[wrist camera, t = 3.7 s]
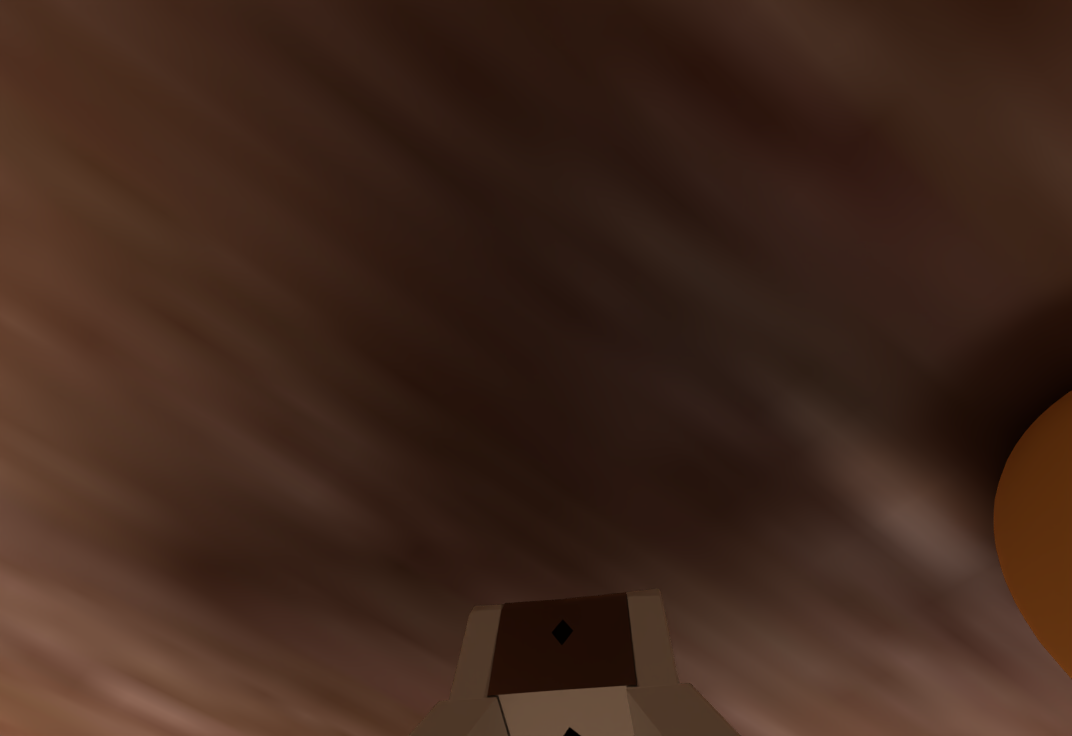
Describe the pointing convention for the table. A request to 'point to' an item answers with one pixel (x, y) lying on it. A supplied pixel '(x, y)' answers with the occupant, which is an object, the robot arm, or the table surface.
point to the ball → (1040, 528)
